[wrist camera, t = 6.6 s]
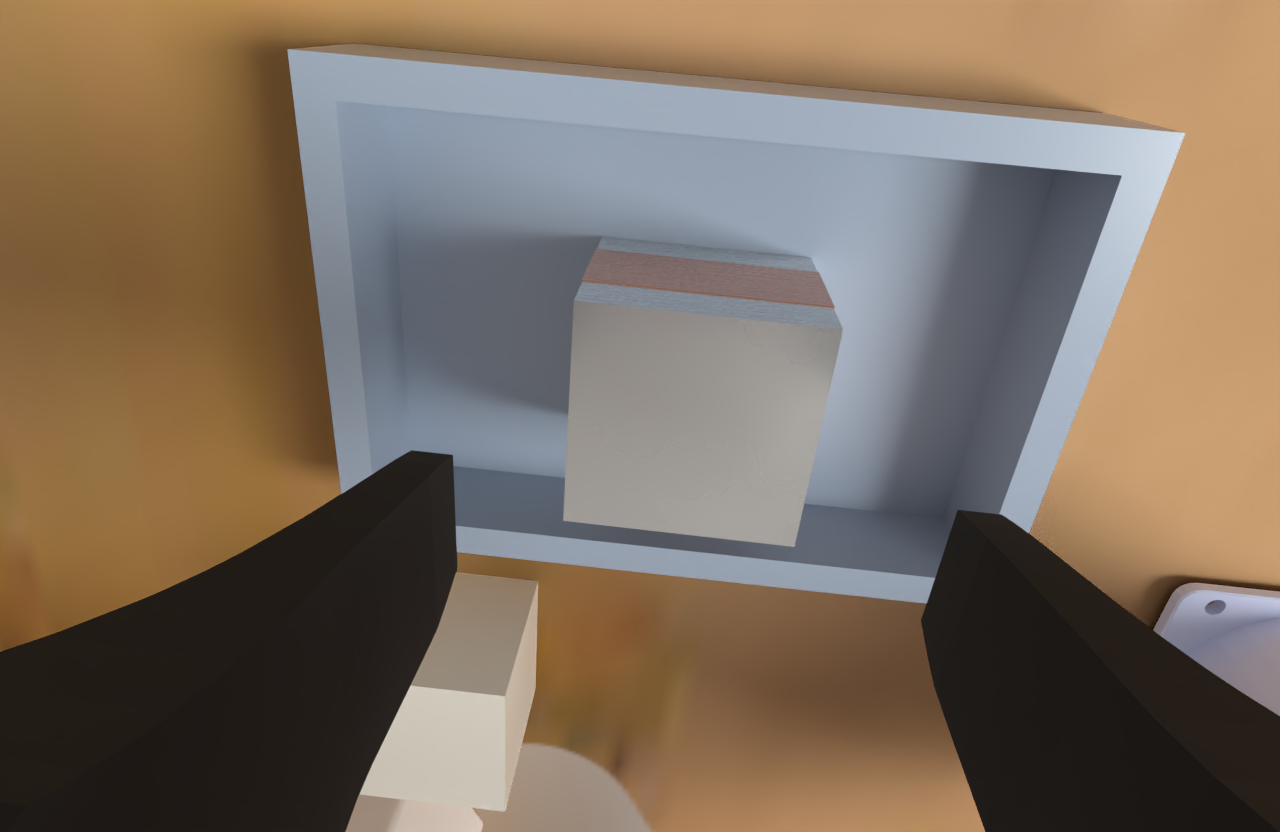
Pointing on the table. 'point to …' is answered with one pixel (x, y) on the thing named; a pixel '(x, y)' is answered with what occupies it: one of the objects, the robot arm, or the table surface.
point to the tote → (729, 219)
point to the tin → (697, 390)
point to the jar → (410, 816)
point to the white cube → (466, 701)
